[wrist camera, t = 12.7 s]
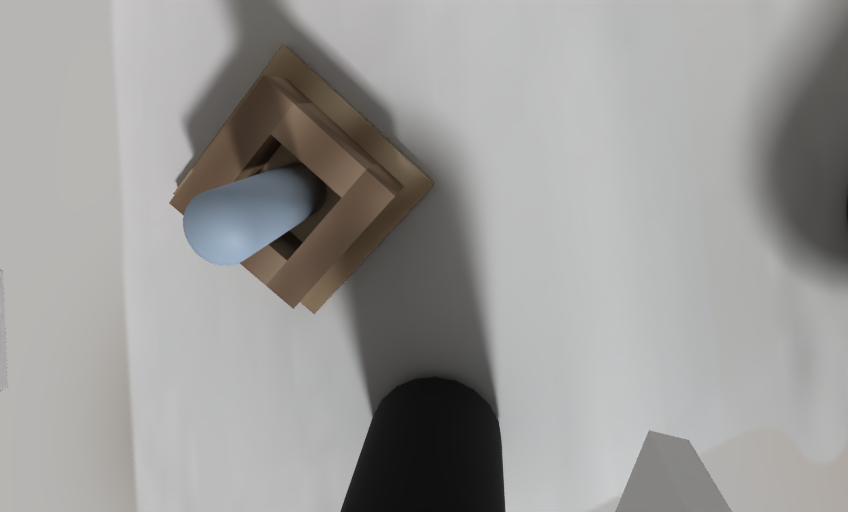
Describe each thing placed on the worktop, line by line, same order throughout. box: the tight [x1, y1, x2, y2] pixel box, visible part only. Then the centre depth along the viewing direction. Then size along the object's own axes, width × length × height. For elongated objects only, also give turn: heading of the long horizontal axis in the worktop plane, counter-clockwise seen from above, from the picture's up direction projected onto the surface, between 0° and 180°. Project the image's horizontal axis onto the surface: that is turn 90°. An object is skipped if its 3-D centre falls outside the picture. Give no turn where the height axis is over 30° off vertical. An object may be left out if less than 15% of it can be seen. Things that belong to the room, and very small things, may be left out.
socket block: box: [170, 45, 434, 314], centre depth 37 cm, size 14×14×5 cm
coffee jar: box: [341, 377, 505, 512], centre depth 35 cm, size 11×11×18 cm
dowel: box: [183, 163, 327, 266], centre depth 32 cm, size 4×4×12 cm
